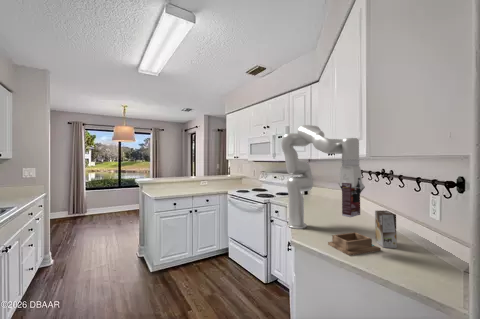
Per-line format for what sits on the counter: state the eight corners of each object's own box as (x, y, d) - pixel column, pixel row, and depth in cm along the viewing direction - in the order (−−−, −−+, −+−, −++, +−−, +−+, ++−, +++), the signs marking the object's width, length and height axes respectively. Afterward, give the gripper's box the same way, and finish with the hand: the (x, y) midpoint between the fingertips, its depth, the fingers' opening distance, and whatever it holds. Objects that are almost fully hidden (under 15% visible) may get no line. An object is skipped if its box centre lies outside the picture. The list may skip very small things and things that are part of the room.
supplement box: (351, 217, 104) (350, 183, 104) (341, 215, 108) (341, 182, 108) (361, 215, 109) (360, 182, 109) (351, 213, 113) (350, 181, 113)
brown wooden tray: (328, 244, 113) (327, 234, 113) (356, 240, 118) (356, 230, 118) (349, 255, 100) (349, 243, 100) (380, 250, 105) (380, 239, 105)
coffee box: (397, 248, 107) (397, 214, 107) (382, 247, 108) (382, 214, 108) (388, 241, 116) (387, 210, 116) (374, 240, 117) (374, 210, 117)
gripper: (331, 163, 116) (332, 198, 116) (358, 164, 99) (359, 204, 99) (343, 163, 118) (344, 197, 118) (371, 163, 102) (372, 203, 102)
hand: (351, 200), depth 109 cm, fingers closed on supplement box, 5 cm apart
